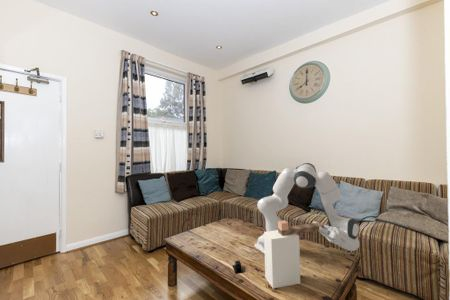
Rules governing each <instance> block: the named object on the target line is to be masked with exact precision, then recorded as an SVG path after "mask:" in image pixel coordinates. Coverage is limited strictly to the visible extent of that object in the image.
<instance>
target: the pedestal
mask: <svg viewBox="0 0 450 300" xmlns="http://www.w3.org/2000/svg"><path fill="white" fill-rule="evenodd" d="M263 234H264V251H265V254H264V276H265V277H264V278H265V279H266V280H267V282H268V283H269V285H270V287H272V289H276V288H282V287H283V288H284V287H289V286H293V285H294V286H295V285H299V284H301V264H300V263H301V258H300V257H301V255H300V250H301V249H300V235H299V233H298V234H291V235H284V236H282V235H281V234H279V233H278V230H275V231H267V232H265V231H264V232H263Z"/></svg>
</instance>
